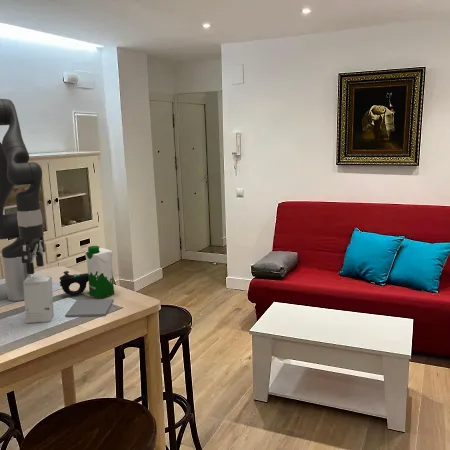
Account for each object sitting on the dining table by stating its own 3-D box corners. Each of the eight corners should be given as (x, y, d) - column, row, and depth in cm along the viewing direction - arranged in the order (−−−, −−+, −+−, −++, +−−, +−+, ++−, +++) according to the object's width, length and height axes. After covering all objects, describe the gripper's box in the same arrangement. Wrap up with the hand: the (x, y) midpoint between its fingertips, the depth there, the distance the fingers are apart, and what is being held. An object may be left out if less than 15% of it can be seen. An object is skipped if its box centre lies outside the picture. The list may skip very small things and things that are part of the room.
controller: (60, 295, 180) (58, 271, 178) (92, 290, 185) (90, 266, 183) (61, 298, 176) (59, 274, 174) (94, 293, 181) (92, 269, 179)
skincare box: (26, 323, 155) (21, 282, 151) (31, 316, 160) (26, 276, 157) (51, 321, 156) (47, 280, 152) (55, 314, 162) (51, 274, 158)
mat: (76, 301, 173) (76, 300, 173) (113, 300, 173) (113, 299, 173) (65, 317, 159) (65, 315, 159) (105, 316, 160) (105, 313, 159)
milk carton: (86, 295, 180) (81, 246, 175) (105, 289, 186) (102, 241, 182) (98, 300, 174) (94, 250, 169) (118, 294, 180) (114, 245, 176)
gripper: (27, 219, 158) (32, 264, 161) (9, 228, 144) (15, 277, 147) (49, 218, 158) (53, 263, 161) (33, 227, 144) (39, 276, 147)
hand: (35, 269), depth 154 cm, fingers open, 8 cm apart
